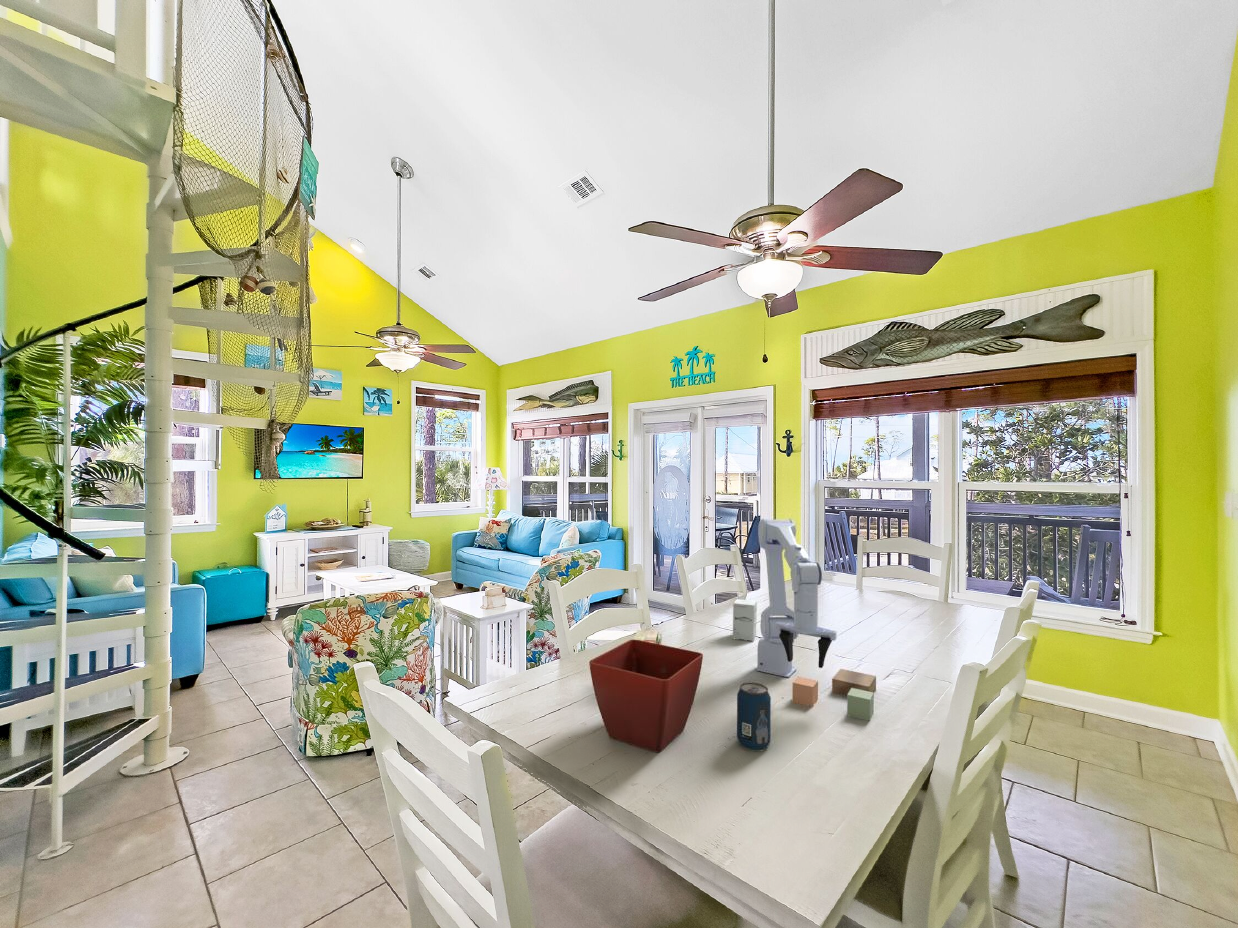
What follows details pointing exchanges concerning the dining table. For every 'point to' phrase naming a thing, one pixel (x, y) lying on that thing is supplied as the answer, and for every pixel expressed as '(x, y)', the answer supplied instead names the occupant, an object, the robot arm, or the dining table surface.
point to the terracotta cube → (805, 691)
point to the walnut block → (852, 682)
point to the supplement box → (744, 619)
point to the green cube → (860, 704)
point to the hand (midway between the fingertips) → (805, 663)
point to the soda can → (753, 716)
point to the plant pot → (645, 691)
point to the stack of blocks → (648, 636)
